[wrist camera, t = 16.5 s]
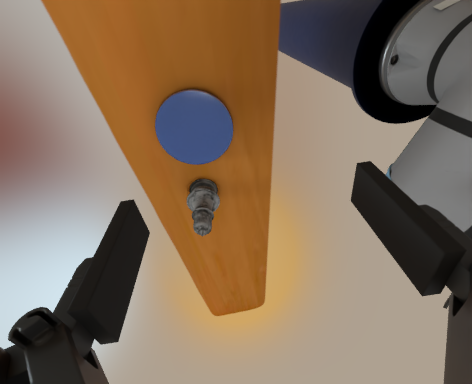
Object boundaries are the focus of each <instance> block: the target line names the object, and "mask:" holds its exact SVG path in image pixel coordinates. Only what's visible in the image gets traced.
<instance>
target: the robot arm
mask: <svg viewBox="0 0 472 384" xmlns="http://www.w3.org/2000/svg"><path fill="white" fill-rule="evenodd" d="M377 75H378V81H379V84H380V87H381V89H382V90H383V92H384V93H385V94H386V95H387V96H388V97H389V98H391V99H393V100H395V101H397V102H399V103H402V104H405V105H437V106H436V107H435V109H434V110H433V111H432V113H431V114H430V115H429V117H428V118H427V119H426V121H425V122H424V123H423V125H422V126H421V127H420V129H419V130H418V131H417V133H416V134H415V135H414V137H413V138H412V140H411V141H410V142H409V143H408V145H407V146H406V148H405V149H404V150H403V152H402V153H401V154H400V156H399V157H398V158H397V160H396V161H395V162H394V163H393V164H391V165H390V167H389V169H388V172H387V174H386V175H385V174H384V173H383V172H382V171H380V170H379V169H378V168H377V167H376V166H375V165H374V164H373V163H372V162H370V161H368V162H362V163H357V167H356V173H355V179H354V185H353V190H352V197H351V202H352V203H353V204H354V206H355V207H356V208H357V210H358V211H359V212H360V213H361V215H362V216H363V218H364V219H365V220H366V221H367V223H368V224H369V226H370V227H371V228H372V230H373V231H374V232H375V234H376V235H377V236H378V238H379V239H380V240H381V242H382V243H383V244H384V246H385V247H386V248H387V250H388V251H389V252H390V254H391V255H392V256H393V258H394V259H395V260H396V262H397V263H398V265H399V266H400V267H401V268H402V270H403V271H404V272H405V274H406V275H407V277H408V278H409V279H410V280H411V282H412V283H413V284H414V286H415V287H416V289H417V290H418V291H419V293H420V294H421V295H422V296H427V295H434V294H440V293H441V292H442V290H443V288H444V287H445V285H446V286H447V287H448V288H449V289H450V290H451V291H452V293H451V295H450V297H449V298H448V299H447V301H446V302H445V304H444V308H446V309H447V307H448V306H449V314H448V328H447V329H448V330H447V343H446V358H445V372H444V384H472V0H420V1H418V2H417V3H415V4H414V5H413V6H412V7H410V8H409V9H408V10H407V11H406V12H405V13H404V14H403V15H402V16H401V17H400V18H399V20H398V21H397V22H396V23H395V25H394V26H393V28H392V29H391V31H390V32H389V34H388V36H387V38H386V40H385V41H384V44H383V46H382V49H381V52H380V55H379V60H378V67H377ZM149 234H150V232H149V230H148V228H147V226H146V224H145V222H144V220H143V218H142V216H141V214H140V212H139V210H138V208H137V206H136V204H135V202H134V200H128V201H121V202H120V204H119V206H118V208H117V210H116V212H115V214H114V217H113V218H112V220H111V222H110V224H109V226H108V228H107V231H106V233H105V235H104V237H103V239H102V241H101V243H100V245H99V247H98V249H97V251H96V253H95V255H94V257H92V258H86V259H85V260H84V261H83V262H82V263H81V264H80V265H79V266H78V268H77V269H76V271H75V273H74V275H73V276H72V279H71V280H70V282H69V284H68V287H67V288H66V289H65V291H64V293H63V295H62V297H61V299H60V301H59V303H58V304H57V306H56V308H55V310H54V312H53V313H52V312H51V311H50V310H49V309H48V308H44V307H40V308H36V309H33V310H31V311H29V312H28V313H26V314H25V315H24V316H22V317H21V318H20V319H19V320H18V321H17V322H16V323H15V325H14V326H13V327H12V329H11V331H10V332H9V336H8V340H9V341H11V342H12V343H14V344H15V345H13V346H11V347H9V348H7V349H2V348H1V347H0V384H109V383H108V381H107V378H106V376H105V374H104V371H103V369H102V367H101V365H100V363H99V360H98V358H97V356H96V354H95V351H94V350H93V349H92V348H91V347H92V343H93V341H94V339H96V340H97V341H98V342H99V343H100V344H108V343H114V342H118V341H119V337H120V333H121V330H122V327H123V323H124V320H125V316H126V313H127V309H128V306H129V303H130V299H131V296H132V292H133V289H134V285H135V282H136V279H137V275H138V271H139V268H140V265H141V261H142V258H143V254H144V251H145V247H146V244H147V241H148V237H149Z"/></svg>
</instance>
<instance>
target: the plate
mask: <svg viewBox="0 0 472 384" xmlns="http://www.w3.org/2000/svg"><path fill="white" fill-rule="evenodd" d="M155 129H156V134H157V137H158V140H159V142H160V144H161V145H162V147H163V148H164V149H165V151H166V152H167V153H168V154H170V155H171V156H172V157H174V158H175V159H177V160H179V161H181V162H184V163H188V164H205V163H209V162H211V161H214V160H216V159H217V158H219V157H220V156H221V155H222V154H223V153H224V152H225V151H226V150H227V148H228V147H229V145H230V143H231V140H232V136H233V123H232V119H231V116H230V113H229V111H228V109H227V108H226V106H225V105H224V104H223V102H222V101H221V100H219V99H218V98H217V97H216V96H214V95H212V94H211V93H209V92H206V91H203V90H198V89H186V90H181V91H179V92H176V93H174V94H172V95H171V96H170V97H168V98H167V99H166V100H165V101H164V102H163V104H162V105H161V107H160V109H159V111H158V113H157V116H156V121H155Z"/></svg>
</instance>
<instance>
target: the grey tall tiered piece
mask: <svg viewBox="0 0 472 384" xmlns="http://www.w3.org/2000/svg"><path fill="white" fill-rule="evenodd" d="M217 191H218V190H217V186H216V184H215V183H214V182H212V181H211V180H208V179H199V180H196V181H195V182H193V183H192V184H191V186H190V194H189V195H188V197H187V205H188V207H189V209H190V210H192V211H193V213H192V218H193V220H194V226H193V228H194V231H195V232H196V233H197V234H199V235H201V236H204V235H206V234H208V233H209V232H210V231H211V228H212V220H213V218H214V214H213V212H214V211H215V210H216V209H217V208H218V206H219V203H220V200H219V197H218V195H217Z"/></svg>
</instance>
